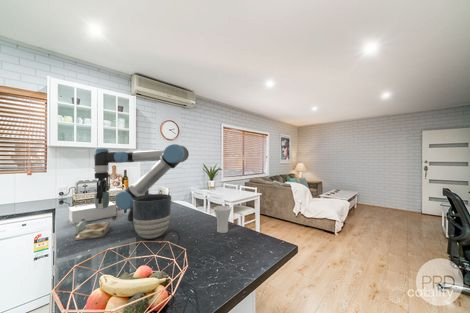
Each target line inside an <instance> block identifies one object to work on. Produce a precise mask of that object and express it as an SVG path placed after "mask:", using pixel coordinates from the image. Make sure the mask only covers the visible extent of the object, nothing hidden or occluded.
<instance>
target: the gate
mask: <svg viewBox="0 0 470 313" xmlns="http://www.w3.org/2000/svg"><path fill="white" fill-rule="evenodd" d="M83 229H86V221H85V218H82V219H81V222H80V223H77V224H76V225H75V235H78V234H79V233H80V232H81V231H82V230H83Z"/></svg>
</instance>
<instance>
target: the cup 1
mask: <svg viewBox="0 0 470 313" xmlns="http://www.w3.org/2000/svg"><path fill="white" fill-rule="evenodd" d="M96 197H97V192H95V193H94V197H93V199H94V200H93V201H94V203H95V207H96V208H97V209H98V199H96ZM102 197H103V209H104V208H107V207H108V205H109V202H110V192H109V191H107V192H103V196H102Z"/></svg>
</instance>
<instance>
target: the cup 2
mask: <svg viewBox="0 0 470 313" xmlns="http://www.w3.org/2000/svg"><path fill="white" fill-rule="evenodd" d="M213 211H214V214H215V217H216V222H217V225H216V228H217V229H216V232H217V233H220V234H225V233H228V232H229V218H230V214H231V211H232V207H231V206H228V205H218V206H214V207H213Z"/></svg>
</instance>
